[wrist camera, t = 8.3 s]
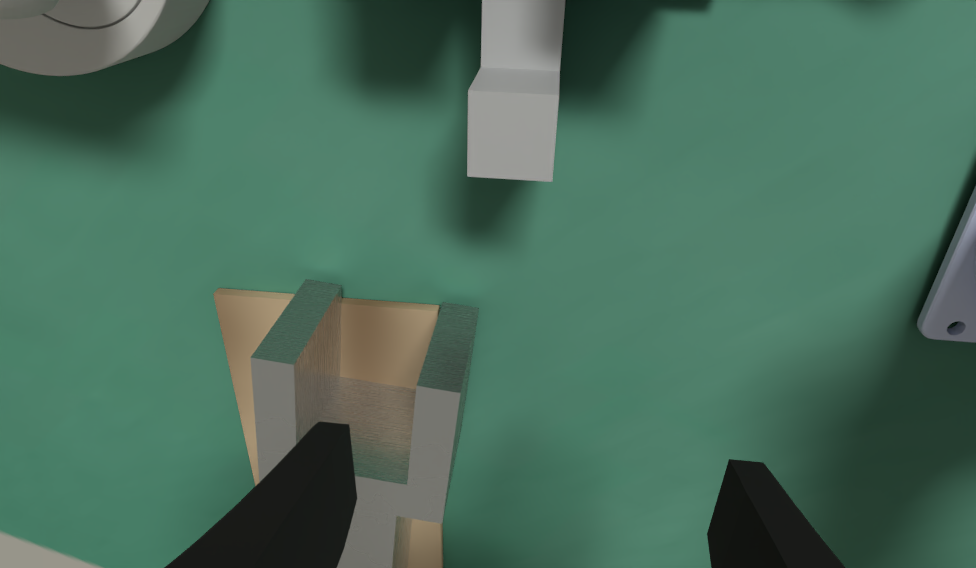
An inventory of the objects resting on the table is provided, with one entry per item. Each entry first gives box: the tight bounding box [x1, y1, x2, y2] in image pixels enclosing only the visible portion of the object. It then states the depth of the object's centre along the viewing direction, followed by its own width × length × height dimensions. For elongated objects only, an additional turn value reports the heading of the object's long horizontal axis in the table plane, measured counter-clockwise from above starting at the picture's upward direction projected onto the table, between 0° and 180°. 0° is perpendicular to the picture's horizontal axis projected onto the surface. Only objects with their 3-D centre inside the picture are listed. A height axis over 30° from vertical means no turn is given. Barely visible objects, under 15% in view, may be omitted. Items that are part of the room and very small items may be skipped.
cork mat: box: [214, 288, 443, 568], centre depth 27 cm, size 8×17×1 cm, turn 179°
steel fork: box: [250, 279, 479, 568], centre depth 24 cm, size 6×14×4 cm, turn 173°
